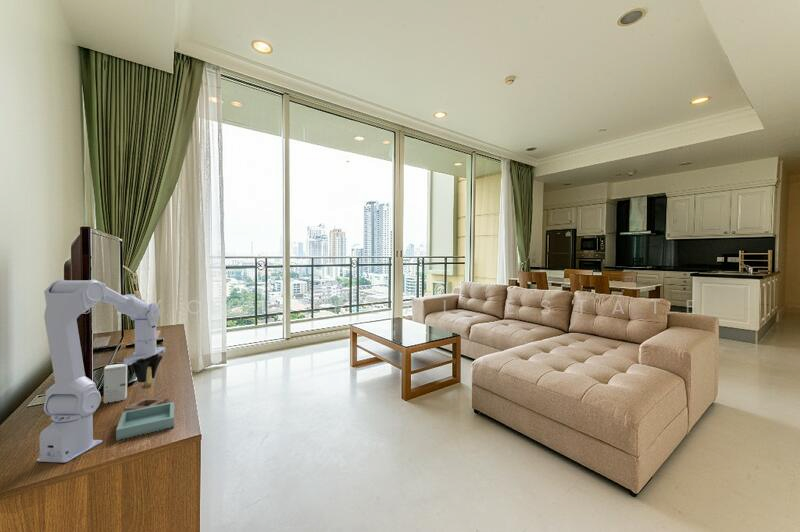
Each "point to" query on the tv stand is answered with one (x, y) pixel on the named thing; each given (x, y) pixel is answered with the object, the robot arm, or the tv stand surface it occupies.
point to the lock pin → (147, 379)
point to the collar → (145, 401)
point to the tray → (145, 420)
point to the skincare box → (115, 383)
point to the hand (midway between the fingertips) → (146, 379)
